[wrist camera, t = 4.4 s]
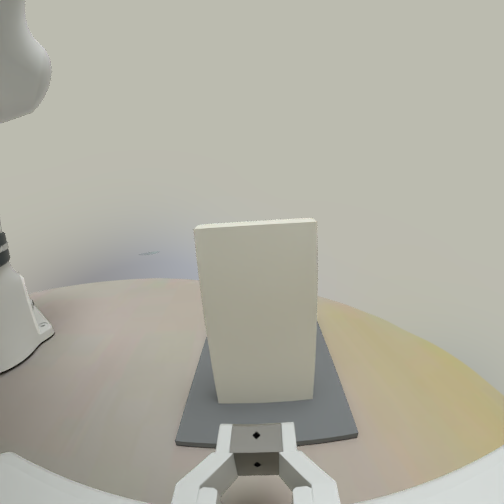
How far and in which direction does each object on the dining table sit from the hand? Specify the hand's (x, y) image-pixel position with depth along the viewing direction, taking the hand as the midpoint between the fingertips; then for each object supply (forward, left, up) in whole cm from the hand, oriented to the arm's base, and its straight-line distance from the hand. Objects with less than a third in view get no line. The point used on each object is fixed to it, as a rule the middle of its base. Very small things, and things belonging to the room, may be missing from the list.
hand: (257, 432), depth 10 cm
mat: (-9, +10, -6) cm, 15 cm away
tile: (-6, +6, -6) cm, 11 cm away
